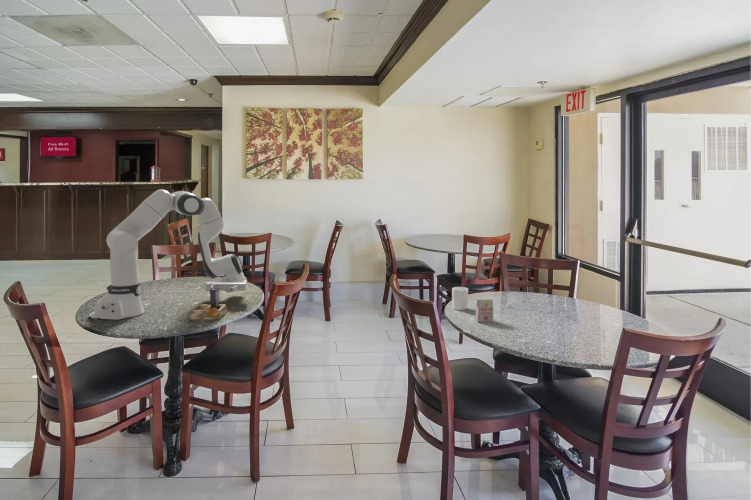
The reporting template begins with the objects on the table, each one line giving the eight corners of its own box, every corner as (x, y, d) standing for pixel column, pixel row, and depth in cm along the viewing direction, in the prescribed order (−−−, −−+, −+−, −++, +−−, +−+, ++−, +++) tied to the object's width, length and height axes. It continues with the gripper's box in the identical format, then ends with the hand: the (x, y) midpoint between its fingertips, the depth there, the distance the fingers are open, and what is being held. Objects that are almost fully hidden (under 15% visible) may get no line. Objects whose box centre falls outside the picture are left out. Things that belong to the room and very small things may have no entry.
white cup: (456, 311, 222) (457, 291, 221) (448, 307, 230) (449, 287, 228) (470, 309, 225) (471, 289, 224) (461, 305, 233) (462, 286, 231)
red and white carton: (475, 320, 209) (476, 298, 207) (490, 319, 209) (491, 298, 208) (477, 322, 205) (478, 300, 204) (492, 322, 206) (493, 300, 204)
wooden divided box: (189, 319, 206) (188, 308, 206) (197, 311, 218) (197, 301, 217) (219, 319, 207) (219, 308, 206) (227, 311, 218) (226, 301, 218)
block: (210, 315, 210) (209, 289, 208) (214, 312, 215) (213, 287, 213) (216, 315, 210) (215, 289, 208) (219, 312, 215) (218, 287, 213)
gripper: (209, 277, 236) (199, 283, 222) (249, 277, 237) (242, 283, 223) (209, 289, 237) (200, 295, 223) (249, 289, 238) (243, 296, 224)
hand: (222, 289), depth 223 cm, fingers open, 8 cm apart
